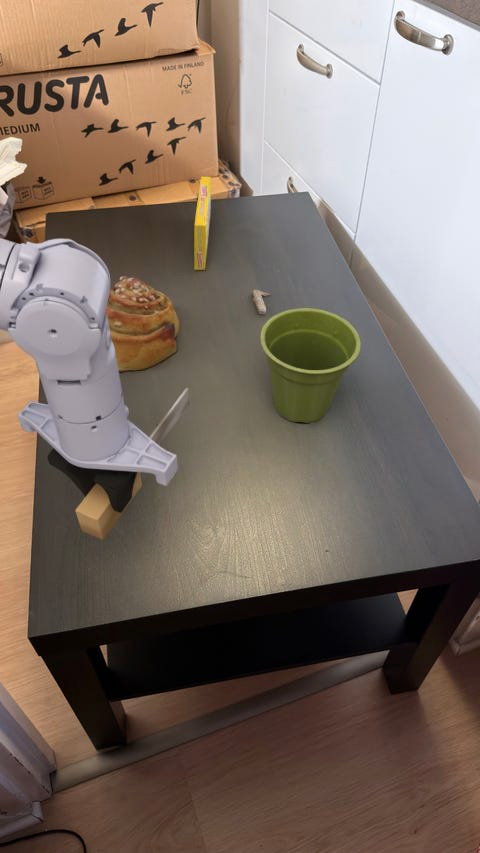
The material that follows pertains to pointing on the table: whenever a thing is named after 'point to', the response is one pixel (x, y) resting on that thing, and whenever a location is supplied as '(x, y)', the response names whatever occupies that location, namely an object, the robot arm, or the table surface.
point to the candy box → (202, 223)
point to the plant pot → (307, 360)
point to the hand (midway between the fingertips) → (110, 498)
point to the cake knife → (96, 505)
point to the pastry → (140, 324)
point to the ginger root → (259, 301)
